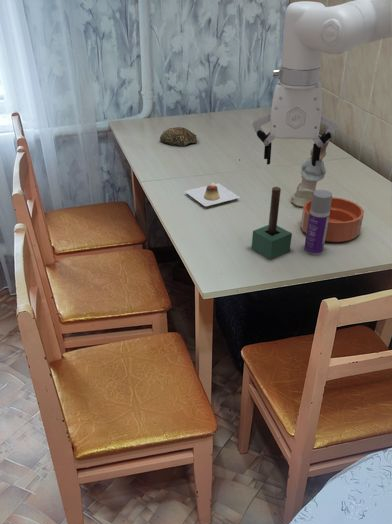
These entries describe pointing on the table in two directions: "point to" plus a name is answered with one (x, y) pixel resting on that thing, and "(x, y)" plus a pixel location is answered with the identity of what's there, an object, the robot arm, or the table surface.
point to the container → (318, 222)
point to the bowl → (338, 220)
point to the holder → (271, 242)
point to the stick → (274, 210)
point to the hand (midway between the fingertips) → (290, 163)
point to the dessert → (212, 194)
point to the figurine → (310, 178)
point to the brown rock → (178, 136)
